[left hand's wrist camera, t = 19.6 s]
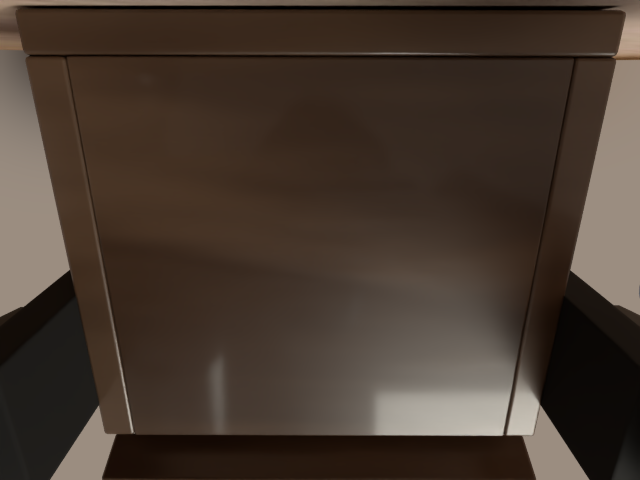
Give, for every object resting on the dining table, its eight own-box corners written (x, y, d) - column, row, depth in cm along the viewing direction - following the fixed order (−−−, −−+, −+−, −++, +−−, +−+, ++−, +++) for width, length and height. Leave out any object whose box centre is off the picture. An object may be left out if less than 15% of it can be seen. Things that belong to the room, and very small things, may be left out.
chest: (423, 50, 21) (410, 223, 24) (217, 49, 21) (230, 222, 24) (629, 9, 7) (534, 437, 10) (11, 8, 7) (103, 435, 10)
